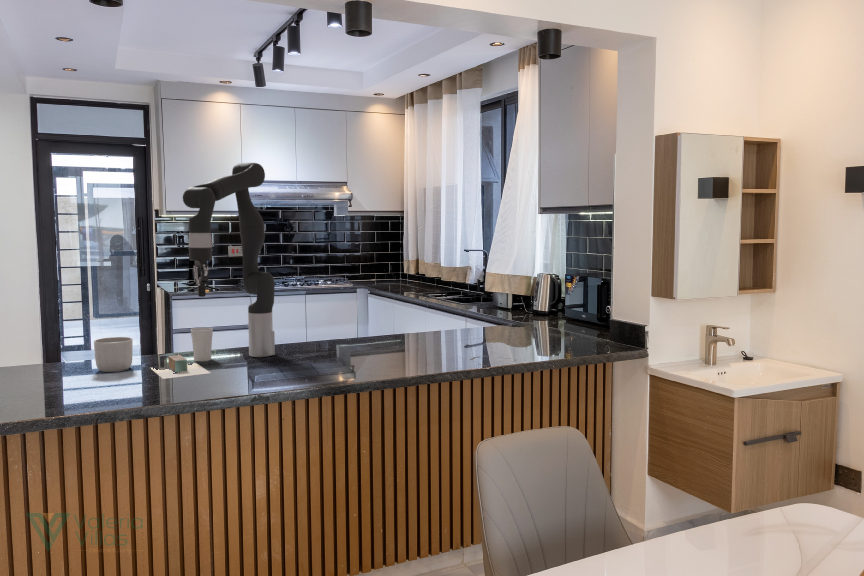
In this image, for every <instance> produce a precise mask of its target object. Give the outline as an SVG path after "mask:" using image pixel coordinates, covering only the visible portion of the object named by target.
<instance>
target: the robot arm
mask: <svg viewBox="0 0 864 576" xmlns="http://www.w3.org/2000/svg"><path fill="white" fill-rule="evenodd" d="M231 172H232V173H231V175H225V176H221V177H218V178H216V179H212V180H211V181H209V182H206V183H202V184H198V185H193V186H190V187H188V188H186V189H185V191H184V192H183V194H182V202H183V204H184V205H185V206H186V207H188V208H189V209H198V212H197V214H195V215H192V216H190V217H189V219H188V232H189V234H188V259H189V261H194V265H193V268H192V274H193V279H194V283H195V284H196V286H197V297H201V298H203V297H206V286H207V285H208V283H209V278H210V273H211V271H210V270H209V265H208V261H211V260H212V259H213V243H212V242H213V238H212V233H211V232H212V230H211V227H212V226H211V221H212V217H213V212H214V208H215V206H216V205H215V204H216V202H217V201H218V202H219V201H220V200H223V199H225V198H227V197H228V196H230V195H233V194H235V199H236V204H237V213H238V222H239V235H240V241H241V242H240V243H241V253H242V284H243V288H244V291H245V292H246V293H247V294H249V295H255V296H256V300H255V302H253V303H250V304H249V305H248V306H247V312H248V313H247V317H248V320H247V321H248V323H247V325H248V356H250V357H253V358H262V357H263V358H264V357H270V356H275V354H276V352H275V351H276V349H275V346H276V345H275V344H276V343H275V330H274V329H273V307H274V305H275V304H274V303H275V289H276V287H275V286H276V285H275V278H274V276H273V275H272V274H271V273H270V272H268V271H259V263H258V261H259V256H260V253H261V250H262V248H263V247H264V246H263V245H264V243H265V239H266V235H265V234H266V231H265V222H264V218H263V216H262V215H261V214H260V213H259V211H258V209H257V208H256V206H255V205H254V203H253V202H252V199H251V195H250V191H249V189H251V188H257V187H260V186H262V184H263V183H264V182H265V179H266V172H265V169H264V167H263V166H262V165H261V164H259V162H258V163H257V162H243V163H242V162H240V163H235V164H234V166H233V167H232V171H231Z"/></svg>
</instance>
